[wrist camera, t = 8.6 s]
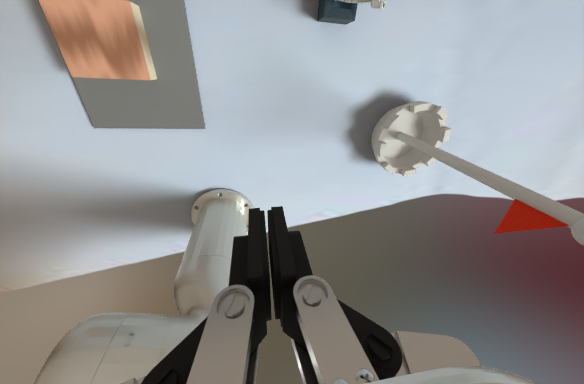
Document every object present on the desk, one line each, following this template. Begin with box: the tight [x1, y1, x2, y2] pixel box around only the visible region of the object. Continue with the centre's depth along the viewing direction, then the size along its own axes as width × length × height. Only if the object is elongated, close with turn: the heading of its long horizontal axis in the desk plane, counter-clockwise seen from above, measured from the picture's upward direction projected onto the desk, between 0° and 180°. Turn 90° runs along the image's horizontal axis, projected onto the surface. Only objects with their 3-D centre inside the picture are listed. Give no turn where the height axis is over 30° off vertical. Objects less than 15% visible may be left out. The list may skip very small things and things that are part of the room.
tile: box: [39, 0, 157, 80], centre depth 26 cm, size 8×2×9 cm
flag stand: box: [371, 101, 584, 245], centre depth 29 cm, size 13×13×30 cm
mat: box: [39, 0, 205, 129], centre depth 28 cm, size 22×16×1 cm
